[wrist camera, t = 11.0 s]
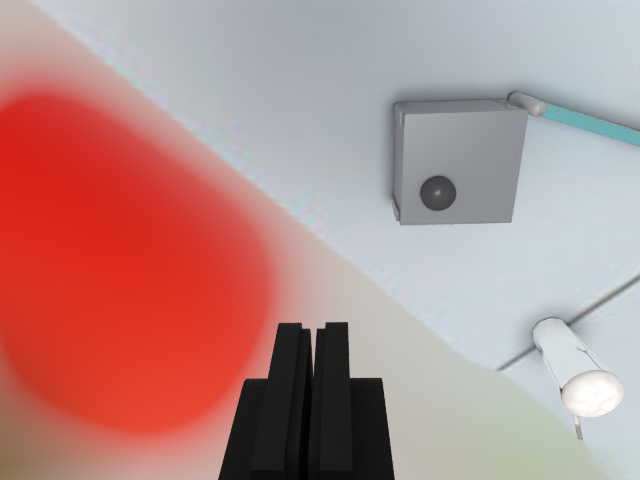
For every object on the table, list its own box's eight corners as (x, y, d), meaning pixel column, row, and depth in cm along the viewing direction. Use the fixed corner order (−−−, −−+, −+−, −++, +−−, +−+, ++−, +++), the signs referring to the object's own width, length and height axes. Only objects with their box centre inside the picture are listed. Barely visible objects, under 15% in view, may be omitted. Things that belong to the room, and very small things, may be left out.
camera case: (393, 102, 34) (403, 116, 29) (503, 98, 34) (532, 111, 29) (390, 201, 38) (398, 228, 33) (490, 198, 37) (513, 226, 32)
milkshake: (510, 347, 44) (555, 431, 35) (542, 304, 42) (599, 382, 33) (550, 362, 45) (604, 448, 36) (584, 321, 42) (651, 402, 33)
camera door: (506, 103, 34) (528, 114, 30) (512, 90, 33) (536, 99, 29) (668, 152, 35) (710, 169, 31) (675, 140, 35) (719, 155, 31)
